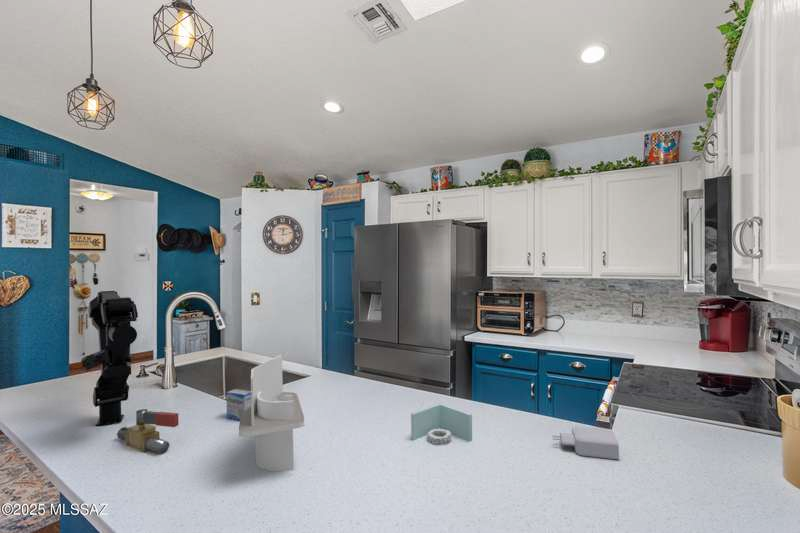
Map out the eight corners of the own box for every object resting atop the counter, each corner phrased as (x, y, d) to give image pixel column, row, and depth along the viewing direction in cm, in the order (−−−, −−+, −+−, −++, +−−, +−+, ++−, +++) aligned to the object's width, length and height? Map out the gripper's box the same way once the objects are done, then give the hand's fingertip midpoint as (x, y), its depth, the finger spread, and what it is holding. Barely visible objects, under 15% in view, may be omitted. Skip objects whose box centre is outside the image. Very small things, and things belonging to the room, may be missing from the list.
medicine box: (226, 418, 128) (225, 392, 128) (236, 413, 132) (236, 388, 132) (245, 422, 125) (244, 394, 125) (255, 417, 130) (254, 390, 129)
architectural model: (324, 473, 94) (322, 375, 94) (227, 491, 87) (225, 385, 87) (309, 428, 120) (308, 351, 120) (234, 439, 113) (233, 357, 113)
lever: (142, 421, 111) (142, 408, 111) (180, 424, 108) (179, 412, 108) (134, 424, 109) (133, 412, 109) (172, 428, 106) (172, 415, 106)
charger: (551, 439, 110) (610, 445, 106) (554, 454, 102) (619, 461, 97) (550, 422, 110) (610, 427, 106) (554, 436, 102) (618, 442, 97)
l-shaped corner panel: (411, 440, 111) (411, 413, 111) (440, 428, 119) (440, 403, 119) (442, 455, 102) (442, 426, 102) (472, 441, 110) (471, 414, 110)
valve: (115, 441, 113) (115, 420, 113) (130, 435, 116) (130, 415, 116) (155, 456, 103) (155, 433, 103) (170, 450, 107) (170, 428, 107)
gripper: (86, 338, 119) (87, 389, 119) (79, 350, 103) (80, 409, 104) (131, 334, 125) (131, 383, 125) (130, 345, 110) (131, 400, 110)
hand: (119, 393), depth 116 cm, fingers closed
